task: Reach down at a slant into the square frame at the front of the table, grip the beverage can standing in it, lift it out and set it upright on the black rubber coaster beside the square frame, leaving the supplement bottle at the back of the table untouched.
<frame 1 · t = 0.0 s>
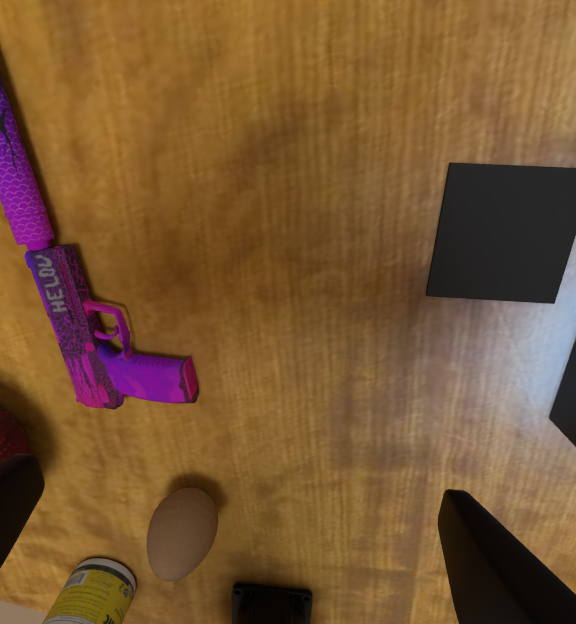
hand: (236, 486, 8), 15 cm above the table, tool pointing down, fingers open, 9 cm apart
egg: (196, 493, 28), on the table
coaster: (503, 236, 20), on the table
supplement bottle: (108, 575, 32), on the table
handgun: (224, 296, 22), on the table
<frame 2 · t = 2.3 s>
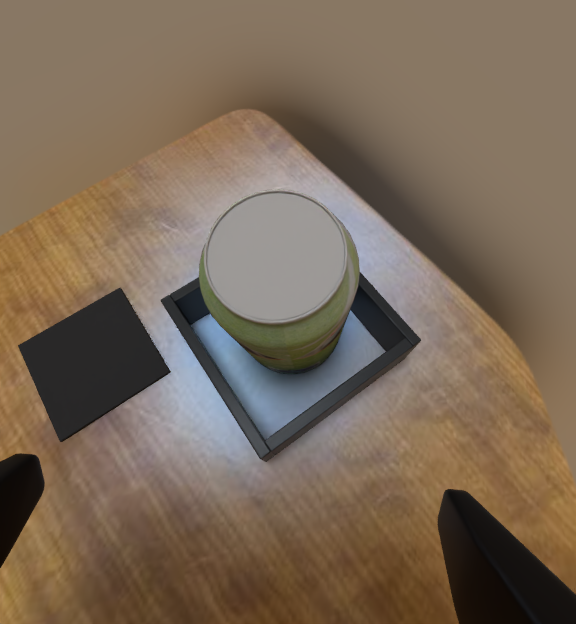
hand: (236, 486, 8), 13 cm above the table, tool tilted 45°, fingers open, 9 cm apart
square frame: (288, 340, 24), on the table
coaster: (93, 359, 24), on the table
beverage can: (288, 341, 24), resting in square frame
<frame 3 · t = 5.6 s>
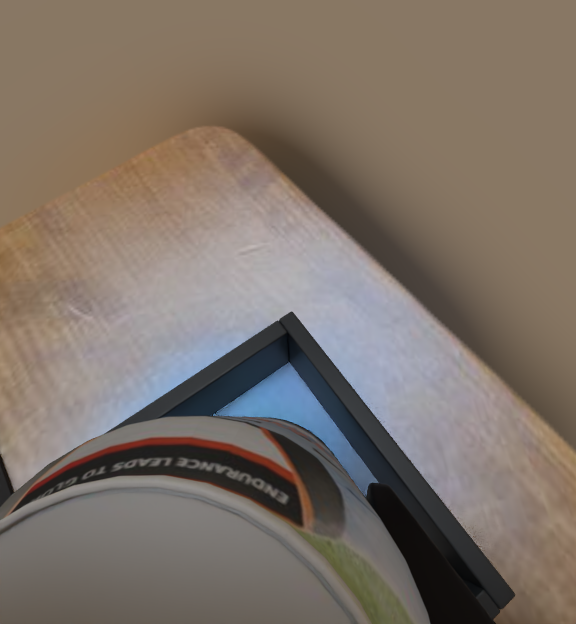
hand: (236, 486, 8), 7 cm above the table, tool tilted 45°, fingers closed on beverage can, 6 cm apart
square frame: (260, 528, 14), on the table
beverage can: (260, 527, 14), resting in square frame, touching gripper
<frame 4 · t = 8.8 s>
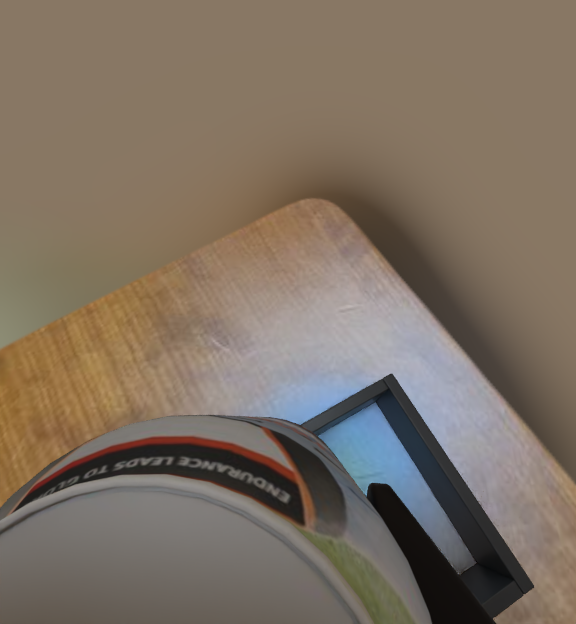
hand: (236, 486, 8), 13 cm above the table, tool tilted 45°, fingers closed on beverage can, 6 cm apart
square frame: (351, 521, 20), on the table
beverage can: (260, 527, 14), point 6 cm above the table, touching gripper
when the fingers open (7 cm above the table, at t = 12.3 s): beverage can stays where it is, resting on coaster.
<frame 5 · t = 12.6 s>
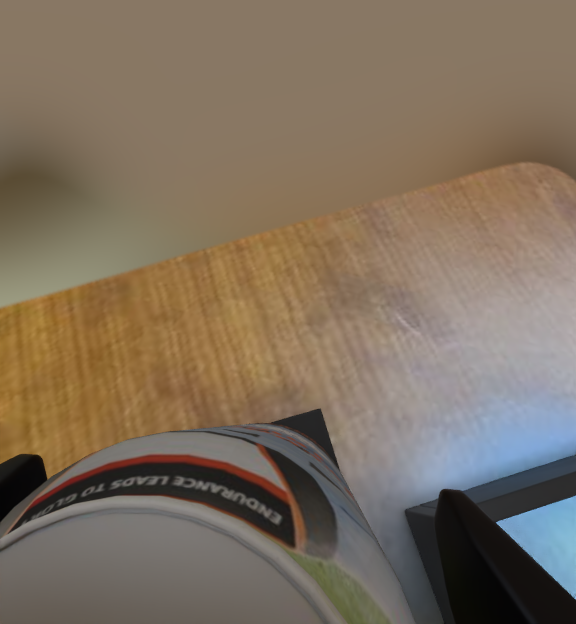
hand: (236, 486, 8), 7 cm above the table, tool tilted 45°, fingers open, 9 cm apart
coaster: (258, 527, 14), on the table
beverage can: (260, 532, 14), resting on coaster
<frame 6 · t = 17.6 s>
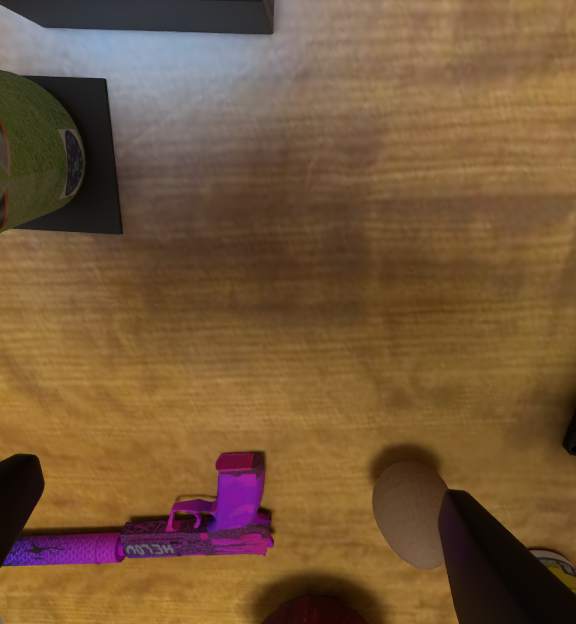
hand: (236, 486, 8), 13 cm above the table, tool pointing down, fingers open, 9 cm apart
egg: (402, 469, 24), on the table
fruit: (316, 617, 30), on the table
coaster: (45, 158, 19), on the table
supplement bottle: (529, 571, 27), on the table
handgun: (152, 422, 24), on the table
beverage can: (48, 157, 19), resting on coaster
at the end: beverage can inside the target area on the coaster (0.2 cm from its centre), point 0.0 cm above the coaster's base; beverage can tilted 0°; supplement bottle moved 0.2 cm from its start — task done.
